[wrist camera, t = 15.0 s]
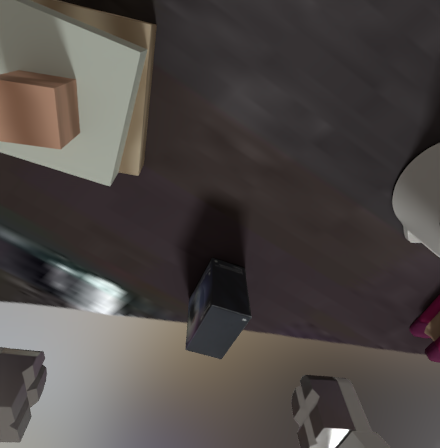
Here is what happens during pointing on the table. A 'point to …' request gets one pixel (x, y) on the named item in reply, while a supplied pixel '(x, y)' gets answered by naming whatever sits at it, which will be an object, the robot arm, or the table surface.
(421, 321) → the book
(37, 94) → the terracotta cube
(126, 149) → the birch slab
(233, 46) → the table surface
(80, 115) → the sage block
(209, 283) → the small box
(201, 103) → the table surface
